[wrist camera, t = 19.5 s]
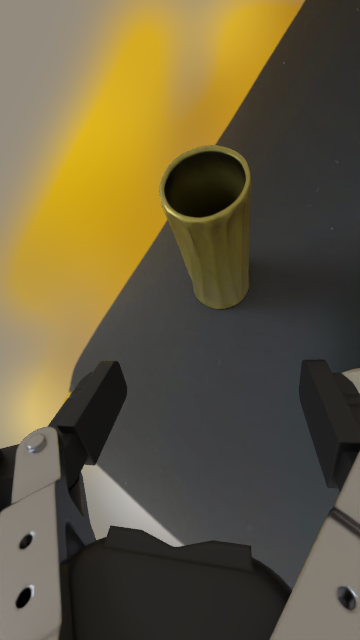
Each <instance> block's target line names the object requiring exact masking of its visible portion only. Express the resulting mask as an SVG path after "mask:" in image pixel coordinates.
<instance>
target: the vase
mask: <svg viewBox="0 0 360 640" xmlns="http://www.w3.org/2000/svg"><path fill="white" fill-rule="evenodd" d="M159 193H160V198H161V203H162V207H163V210H164V212H165V215H166V217H167V219H168V221H169V224H170V226H171V229H172V231H173V234H174V236H175V238H176V241H177V243H178V245H179V248H180V251H181V253H182V257H183V260H184V263H185V265H186V268H187V270H188V273H189V275H190V277H191V279H192V282H193V289H194V293H195V295H196V297H197V298H198V299H199V300H200V301H201V302H202V303H203V304H205V305H206V306H208V307H211V308H215V309H225V308H229V307H232V306H234V305H236V304H237V303H239V302H240V301H241V300H242V299H243V298H244V297H245V295H246V294H247V292H248V289H249V284H250V279H249V274H248V270H249V215H250V198H251V175H250V170H249V167H248V164H247V162H246V160H245V159H244V158H243V157H242V156H241V155H240V154H239V153H237V152H236V151H234V150H232V149H229V148H226V147H223V146H216V145H206V146H201V147H197V148H195V149H192V150H190V151H187V152H185V153H183V154H181V155H180V156H179V157H177V158H176V159H175V160H174V161H173V162H172V163H171V164H170V165H169V166H168V168H167V169H166V171H165V172H164V175H163V177H162V180H161V183H160V189H159Z"/></svg>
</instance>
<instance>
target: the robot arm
mask: <svg viewBox="0 0 360 640" xmlns="http://www.w3.org/2000/svg"><path fill="white" fill-rule="evenodd" d="M126 396H127V385H126V382H125V379H124V376H123V373H122V370H121V367H120V364H119V363H118V362H117V361H102V362H100V363H99V364H98V366H97V367H96V369H95V370H94V372H90V373H89V374H88V375H87V376H85V377H84V378H83V379H82V380H81V381H80V382H79V383H78V385H77V386H76V388H75V390H74V391H73V392H72V393H71V395H70V396H69V398H68V399H67V400H66V402H65V403H64V404H63V406H62V407H61V409H60V410H59V411H58V413H57V414H56V416H55V417H54V418H53V420H52V421H51V423H50V424H49V425H48V427H43V428H40V429H37V430H36V431H33V432H32V433H30V434H29V435H28V436H27V437H25V438H24V439H23V441H22V442H21V443H20V444H18V445H14V446H10V447H6V448H2V449H0V640H360V393H359V392H358V390H357V388H356V387H355V385H354V383H353V382H352V381H350V380H349V379H348V378H347V377H346V376H344V375H343V374H342V373H332V372H331V370H330V368H329V366H328V364H327V363H326V361H325V360H303V361H302V367H301V376H300V385H299V396H300V402H301V405H302V409H303V412H304V415H305V418H306V421H307V424H308V428H309V431H310V434H311V437H312V440H313V443H314V446H315V450H316V453H317V456H318V459H319V462H320V465H321V469H322V472H323V475H324V478H325V481H326V484H327V487H328V488H338V489H339V490H340V494H339V496H338V498H337V501H336V503H335V505H334V507H333V509H331V510H330V512H329V514H328V516H327V518H326V520H325V522H324V524H323V526H322V528H321V530H320V533H319V535H318V537H317V539H316V541H315V543H314V545H313V548H312V550H311V552H310V554H309V556H308V558H307V560H306V563H305V565H304V567H303V569H302V571H301V573H300V576H299V578H298V580H297V582H296V584H295V586H294V588H293V590H292V589H291V588H290V587H289V586H288V585H287V584H286V582H285V581H284V580H283V579H282V578H281V577H280V576H279V575H277V574H276V573H275V572H274V571H273V570H272V569H270V568H269V567H268V566H266V565H265V564H263V563H262V562H260V561H258V560H256V559H254V558H252V556H251V546H247V545H241V544H234V543H227V542H220V541H208V542H202V543H197V544H191V545H186V546H181V547H173V546H170V545H168V544H167V543H165V542H163V541H161V540H159V539H157V538H156V537H154V536H152V535H150V534H148V533H146V532H144V531H143V530H138V529H131V528H124V527H117V526H110V529H109V532H108V534H107V537H105V538H102V539H99V540H96V538H95V535H94V532H93V530H92V527H91V524H90V520H89V514H88V508H87V501H86V495H85V489H84V483H83V476H82V473H81V469H82V468H83V466H84V464H85V465H95V464H96V462H97V460H98V458H99V456H100V453H101V451H102V449H103V447H104V445H105V442H106V440H107V438H108V436H109V434H110V432H111V429H112V427H113V425H114V423H115V421H116V419H117V416H118V414H119V412H120V410H121V408H122V405H123V403H124V401H125V399H126Z"/></svg>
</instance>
